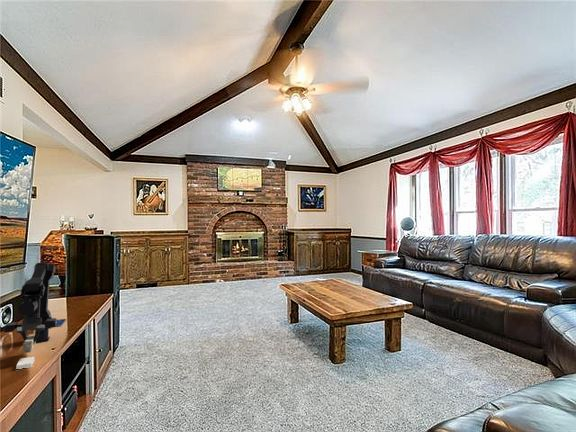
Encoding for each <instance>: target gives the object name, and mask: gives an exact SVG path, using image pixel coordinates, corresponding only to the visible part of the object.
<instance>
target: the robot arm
mask: <svg viewBox="0 0 576 432" xmlns="http://www.w3.org/2000/svg"><path fill="white" fill-rule="evenodd" d="M55 273H56V265H55V264H53V263H49V262H36V263H35V265H34V268H33V273H32V274H31V278H30V279H27V280H25V283H24V284H23V285H22V287H21V291H20V295H19V300H23V302H22V303H20V304H19V306H18V309H17V311H18V313H19V314H20V315H22V316H23V319H22V321H21V323H18V321H15V322H7V323H6V324H5V325H4V326H3V333H12V332H14V331H15V330H16V333H18V334H20V335H21V337H22V340H23V342H25V341H26V339H27V337H28V331H34V334H35V337H34V343H35V342H36V343H44V342H49V341H50V338H51V336H49V332H50V329H53V328H56V327H55V326H56V324H57V320H58V319H57V318H55V317H52V313H51V312H50V310H49V308H48V306H49V295H50V283H51V282H50V281H51V280H52V279H53V277H54V274H55ZM36 343H35V344H36Z"/></svg>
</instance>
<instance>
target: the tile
mask: <svg viewBox="0 0 576 432" xmlns="http://www.w3.org/2000/svg"><path fill="white" fill-rule="evenodd" d="M33 362H35V356H29V357H22V358H20V359H19V360H18V362H17V364H16V368H15V370H16V369H22V368H28V369H30V368H29V367H32V368H33V365H34V363H33ZM32 364H33V365H32ZM22 370H23V369H22Z"/></svg>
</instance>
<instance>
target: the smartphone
mask: <svg viewBox="0 0 576 432" xmlns="http://www.w3.org/2000/svg"><path fill="white" fill-rule="evenodd" d="M66 321H67V318H61V319H57V324H56V326H55V327H54V328H61V327H62V326H64V324H65V323H66Z"/></svg>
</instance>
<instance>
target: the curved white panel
mask: <svg viewBox="0 0 576 432" xmlns="http://www.w3.org/2000/svg"><path fill="white" fill-rule="evenodd" d="M34 337H35V333H30V334H28V335H27V339H26V341H23V344H22V354H29V353H31V352H32V350H33V349H34V346H35V344H36V342H35V343H34Z"/></svg>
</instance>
